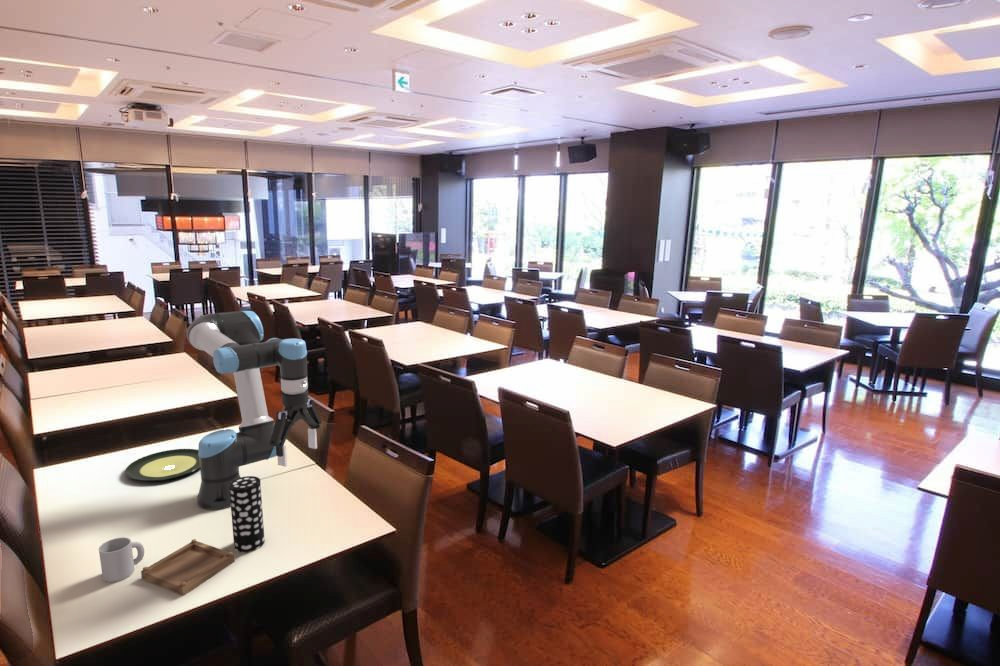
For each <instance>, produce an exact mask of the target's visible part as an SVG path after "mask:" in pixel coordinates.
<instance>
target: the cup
mask: <svg viewBox="0 0 1000 666" xmlns="http://www.w3.org/2000/svg"><path fill="white" fill-rule="evenodd" d="M134 548H135V549H136V550H137V551H136V552H137V555H136V557H135V558H134V555H133V549H134ZM98 556H99V561H100V568H101V575H102V580H103V581H105V582H107V583H116V582H121V581H123V580H126V579H127V578H129V577H130V576H131V575H133V573H134V572H135V566H136V565H138V564H139V563H141V562H142V561H143V558H144V557H145V547H144V545H143V544H142V543H141V542H139V541H132V540H131V539H130V538H129V537H123V536H121V537H116V538H112V539H110V540H107V541H105V542H104V543H102V544H101V545H100V546H99V547H98Z"/></svg>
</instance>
